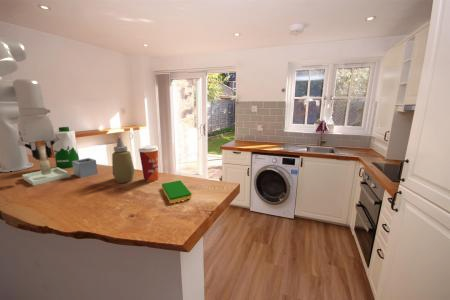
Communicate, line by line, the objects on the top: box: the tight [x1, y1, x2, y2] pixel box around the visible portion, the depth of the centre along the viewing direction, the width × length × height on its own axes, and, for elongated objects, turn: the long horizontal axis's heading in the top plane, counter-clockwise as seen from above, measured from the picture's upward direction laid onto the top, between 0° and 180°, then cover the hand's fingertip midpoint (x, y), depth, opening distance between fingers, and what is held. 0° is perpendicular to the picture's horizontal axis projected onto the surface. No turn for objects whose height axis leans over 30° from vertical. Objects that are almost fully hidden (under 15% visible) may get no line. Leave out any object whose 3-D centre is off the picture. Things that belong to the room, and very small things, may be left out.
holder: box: [72, 157, 99, 179], centre depth 88 cm, size 7×7×7 cm
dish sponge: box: [161, 180, 193, 204], centre depth 70 cm, size 7×14×2 cm, turn 28°
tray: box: [21, 166, 72, 187], centre depth 84 cm, size 14×12×3 cm
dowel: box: [35, 144, 52, 175], centre depth 83 cm, size 3×3×12 cm
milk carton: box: [52, 126, 80, 169], centre depth 99 cm, size 9×9×20 cm
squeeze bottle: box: [111, 137, 135, 184], centre depth 81 cm, size 8×8×18 cm
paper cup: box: [138, 144, 159, 183], centre depth 83 cm, size 8×8×14 cm
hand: (43, 157), depth 82 cm, fingers closed on dowel, 3 cm apart
